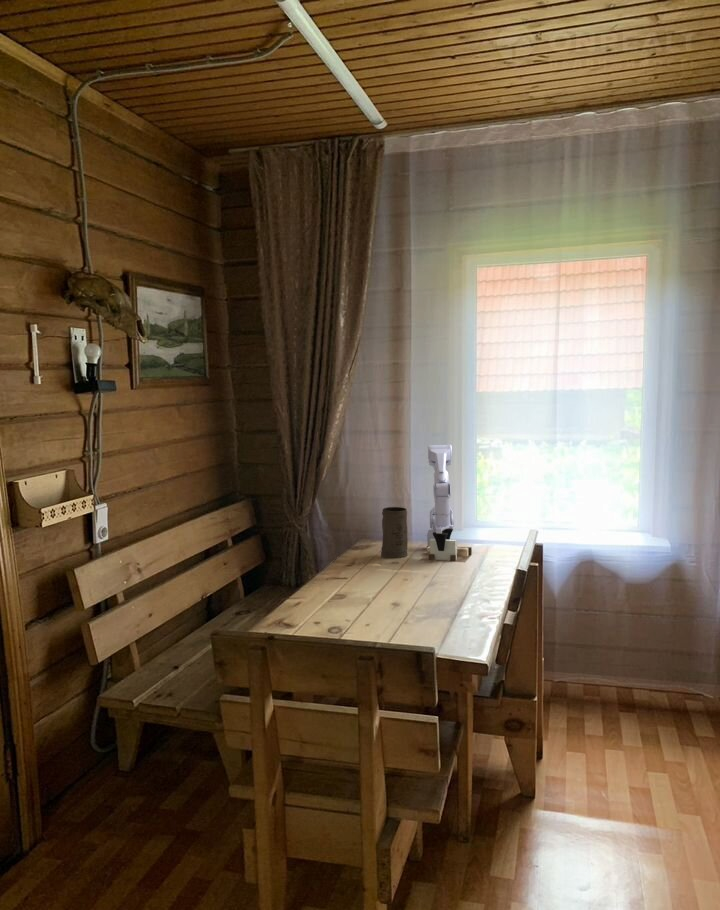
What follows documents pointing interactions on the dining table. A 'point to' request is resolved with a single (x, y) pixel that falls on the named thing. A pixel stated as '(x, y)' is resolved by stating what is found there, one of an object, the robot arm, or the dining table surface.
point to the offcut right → (462, 552)
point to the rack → (452, 557)
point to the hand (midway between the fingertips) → (443, 549)
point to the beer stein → (394, 533)
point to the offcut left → (428, 550)
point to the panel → (449, 549)
